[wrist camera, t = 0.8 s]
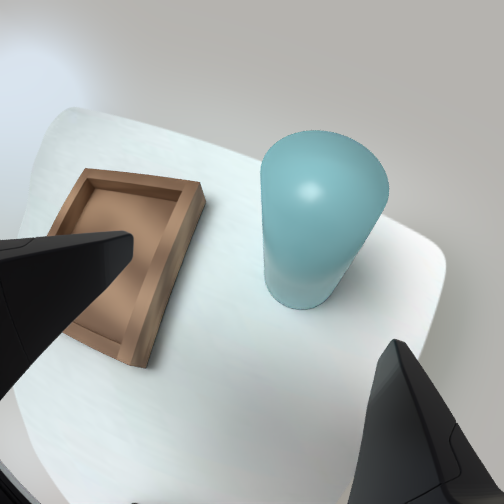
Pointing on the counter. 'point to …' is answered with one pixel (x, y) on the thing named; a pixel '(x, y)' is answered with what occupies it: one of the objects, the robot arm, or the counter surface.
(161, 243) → the tray
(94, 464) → the counter surface
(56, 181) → the counter surface
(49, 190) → the counter surface
